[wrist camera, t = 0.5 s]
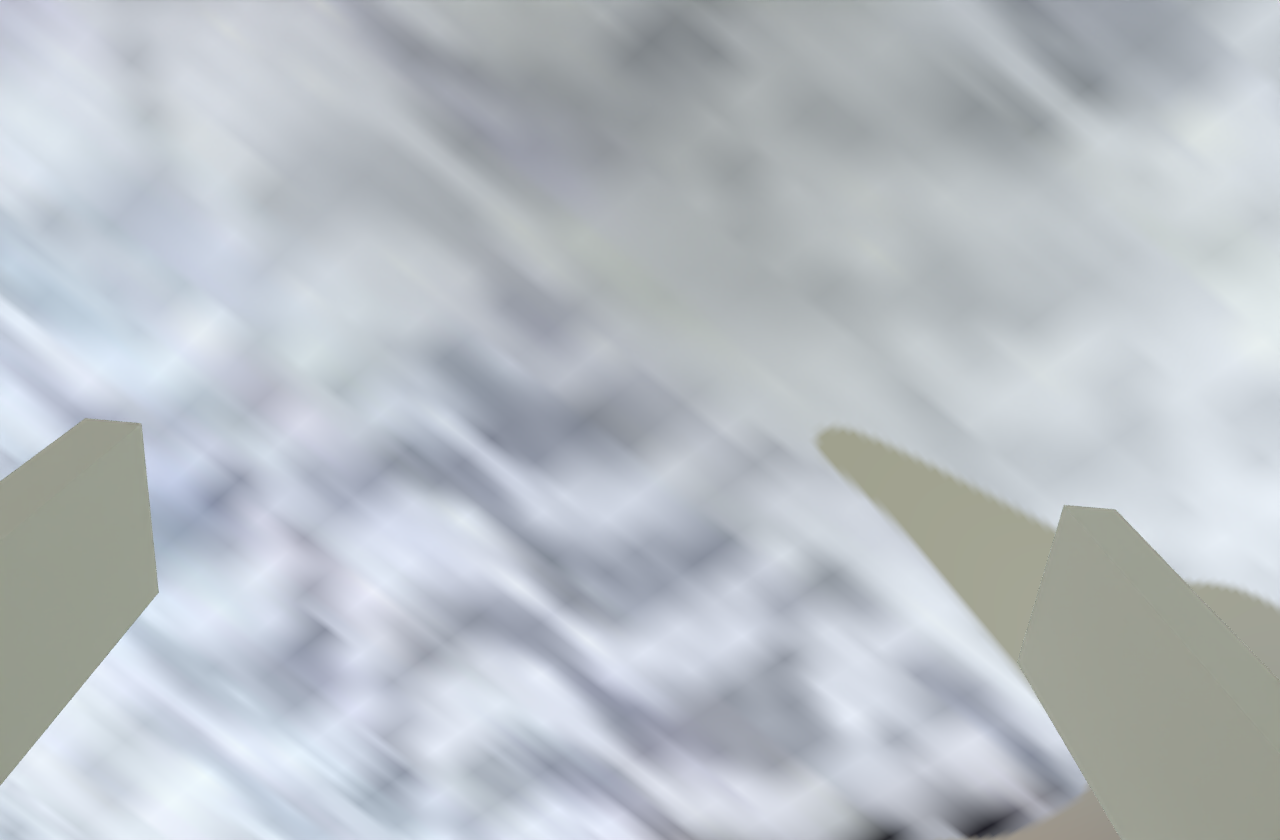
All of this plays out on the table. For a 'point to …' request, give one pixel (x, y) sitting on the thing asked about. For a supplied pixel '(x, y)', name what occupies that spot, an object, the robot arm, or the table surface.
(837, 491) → the table surface
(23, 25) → the table surface
